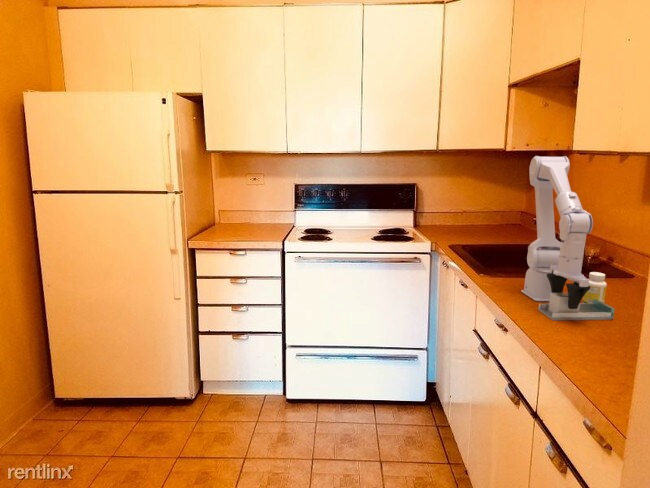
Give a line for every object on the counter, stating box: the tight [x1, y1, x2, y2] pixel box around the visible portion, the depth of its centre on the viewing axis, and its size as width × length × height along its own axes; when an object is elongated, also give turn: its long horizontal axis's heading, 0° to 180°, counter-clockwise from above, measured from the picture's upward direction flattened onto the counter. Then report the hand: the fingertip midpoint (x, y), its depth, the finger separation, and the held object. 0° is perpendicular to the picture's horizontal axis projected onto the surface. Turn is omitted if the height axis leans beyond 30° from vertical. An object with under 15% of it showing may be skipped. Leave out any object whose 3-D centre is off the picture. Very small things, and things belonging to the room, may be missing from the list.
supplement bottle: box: [582, 271, 608, 303], centre depth 129 cm, size 5×5×10 cm
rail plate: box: [538, 299, 615, 321], centre depth 122 cm, size 17×8×3 cm, turn 93°
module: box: [548, 292, 581, 313], centre depth 121 cm, size 4×6×5 cm
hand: (564, 303), depth 121 cm, fingers open, 7 cm apart
